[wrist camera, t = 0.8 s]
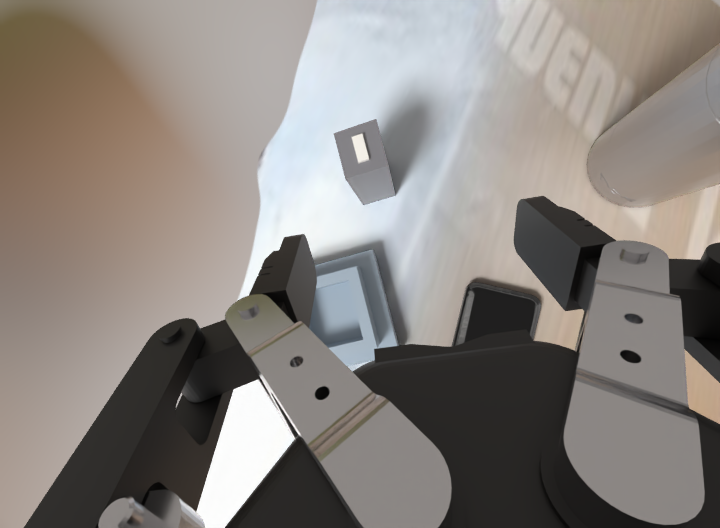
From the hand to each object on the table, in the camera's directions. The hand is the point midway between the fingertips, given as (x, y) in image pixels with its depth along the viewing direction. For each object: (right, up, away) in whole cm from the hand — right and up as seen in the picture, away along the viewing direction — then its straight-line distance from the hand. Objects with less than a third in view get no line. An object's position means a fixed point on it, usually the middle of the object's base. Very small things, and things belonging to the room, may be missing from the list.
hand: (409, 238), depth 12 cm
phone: (+12, -11, +23) cm, 29 cm away
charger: (0, +9, +26) cm, 27 cm away
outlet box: (-4, -7, +26) cm, 27 cm away
